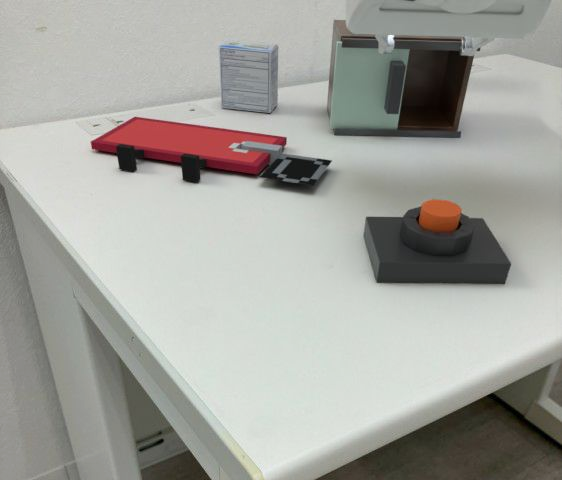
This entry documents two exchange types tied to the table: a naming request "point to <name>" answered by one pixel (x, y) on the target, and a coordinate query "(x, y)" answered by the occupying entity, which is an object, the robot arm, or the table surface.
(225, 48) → the medicine box
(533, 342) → the table surface
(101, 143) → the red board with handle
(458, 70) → the cabinet
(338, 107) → the sliding door
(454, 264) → the button block
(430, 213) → the orange button
